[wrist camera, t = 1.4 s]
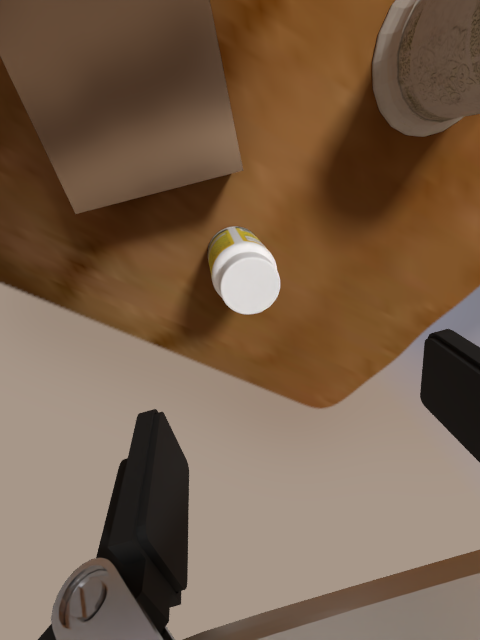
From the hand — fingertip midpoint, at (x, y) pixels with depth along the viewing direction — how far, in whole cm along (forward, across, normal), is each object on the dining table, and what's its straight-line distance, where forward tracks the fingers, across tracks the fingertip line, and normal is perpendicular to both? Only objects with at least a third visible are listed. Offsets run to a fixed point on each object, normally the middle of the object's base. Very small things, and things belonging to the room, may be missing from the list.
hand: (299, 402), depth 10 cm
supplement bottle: (+19, 0, -1) cm, 19 cm away
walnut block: (+18, +4, -13) cm, 23 cm away
